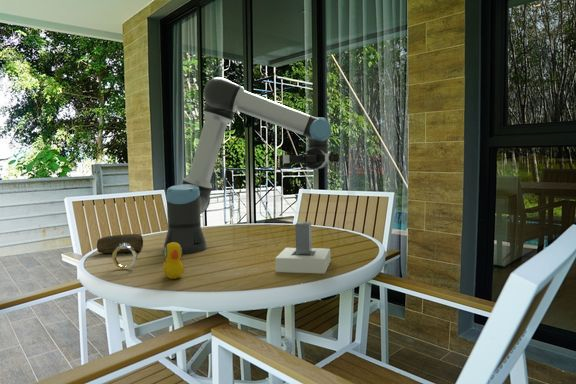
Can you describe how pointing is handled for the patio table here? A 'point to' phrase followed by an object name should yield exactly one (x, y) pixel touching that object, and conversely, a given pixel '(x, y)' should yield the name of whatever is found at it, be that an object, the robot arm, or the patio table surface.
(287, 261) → the well block
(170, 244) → the duckling
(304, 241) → the tall dark grey pillar
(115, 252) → the ring
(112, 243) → the stone weight
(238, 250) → the patio table surface
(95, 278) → the patio table surface
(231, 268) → the patio table surface
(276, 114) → the robot arm
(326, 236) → the patio table surface
